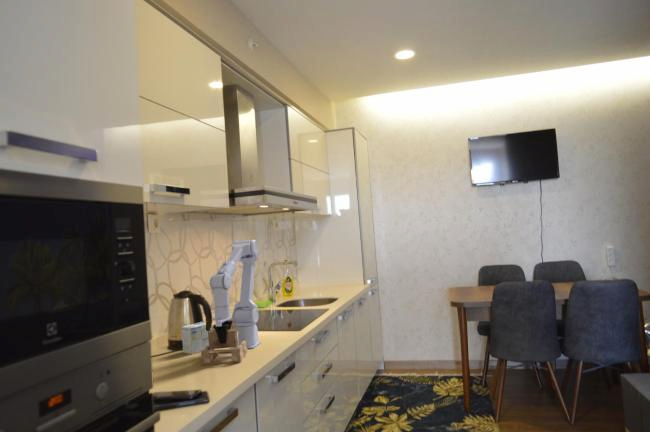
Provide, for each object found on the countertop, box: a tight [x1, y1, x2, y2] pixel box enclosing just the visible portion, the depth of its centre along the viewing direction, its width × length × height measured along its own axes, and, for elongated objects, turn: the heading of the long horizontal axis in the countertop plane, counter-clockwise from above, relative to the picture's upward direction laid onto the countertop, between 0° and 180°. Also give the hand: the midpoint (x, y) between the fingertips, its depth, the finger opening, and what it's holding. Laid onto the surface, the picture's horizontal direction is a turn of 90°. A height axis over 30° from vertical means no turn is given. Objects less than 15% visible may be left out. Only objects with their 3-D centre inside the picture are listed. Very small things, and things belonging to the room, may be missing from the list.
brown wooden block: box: [208, 328, 238, 350], centre depth 178 cm, size 10×4×6 cm, turn 89°
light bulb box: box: [180, 321, 213, 355], centre depth 196 cm, size 11×7×11 cm, turn 141°
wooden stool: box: [200, 340, 248, 366], centre depth 178 cm, size 14×14×5 cm
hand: (224, 342), depth 178 cm, fingers closed on brown wooden block, 4 cm apart
